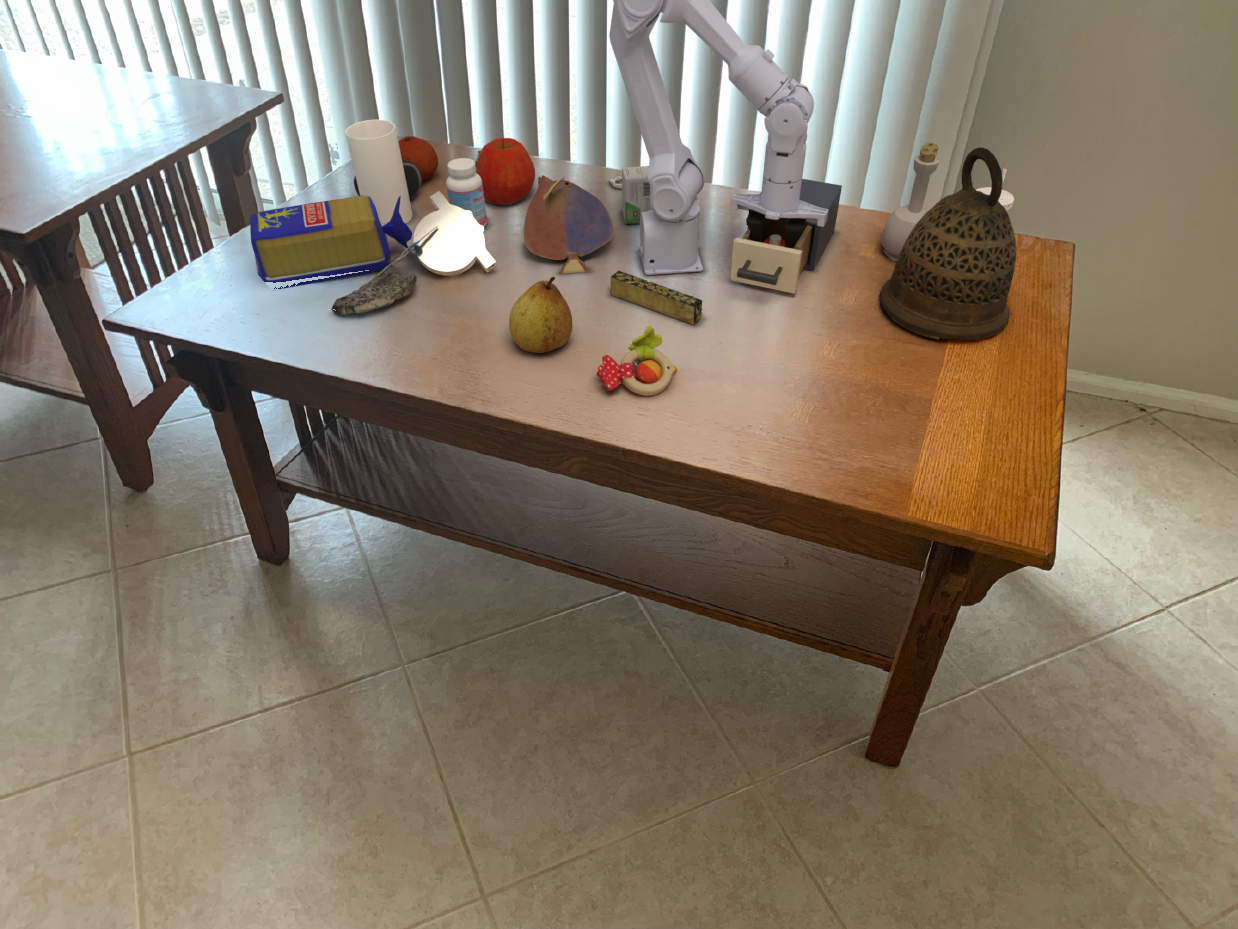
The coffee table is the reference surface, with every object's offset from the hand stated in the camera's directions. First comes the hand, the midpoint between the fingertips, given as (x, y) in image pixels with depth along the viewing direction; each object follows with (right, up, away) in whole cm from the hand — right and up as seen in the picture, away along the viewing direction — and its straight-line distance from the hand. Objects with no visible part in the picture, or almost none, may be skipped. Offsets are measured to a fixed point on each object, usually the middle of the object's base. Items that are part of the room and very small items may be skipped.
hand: (773, 258), depth 135 cm
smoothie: (+35, +3, +7) cm, 36 cm away
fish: (-33, +4, +11) cm, 35 cm away
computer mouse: (-67, +20, +23) cm, 73 cm away
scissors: (-59, 0, +2) cm, 59 cm away
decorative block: (-19, -8, -3) cm, 21 cm away
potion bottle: (+23, +3, +7) cm, 24 cm away
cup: (-65, +12, +19) cm, 69 cm away
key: (-21, +18, +24) cm, 37 cm away
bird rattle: (-18, -22, -20) cm, 35 cm away
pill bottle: (-50, +10, +17) cm, 54 cm away
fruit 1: (-63, +22, +30) cm, 74 cm away
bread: (-72, 0, +10) cm, 73 cm away
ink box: (-24, +14, +14) cm, 31 cm away
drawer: (0, -2, +1) cm, 3 cm away
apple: (-45, +17, +24) cm, 54 cm away
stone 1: (-63, -3, -3) cm, 63 cm away
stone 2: (-51, +27, +27) cm, 64 cm away
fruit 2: (-35, -15, -10) cm, 40 cm away
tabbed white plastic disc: (-48, +6, +7) cm, 49 cm away
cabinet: (+5, +5, +10) cm, 12 cm away
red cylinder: (0, -1, +1) cm, 1 cm away
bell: (+25, -9, -5) cm, 27 cm away
